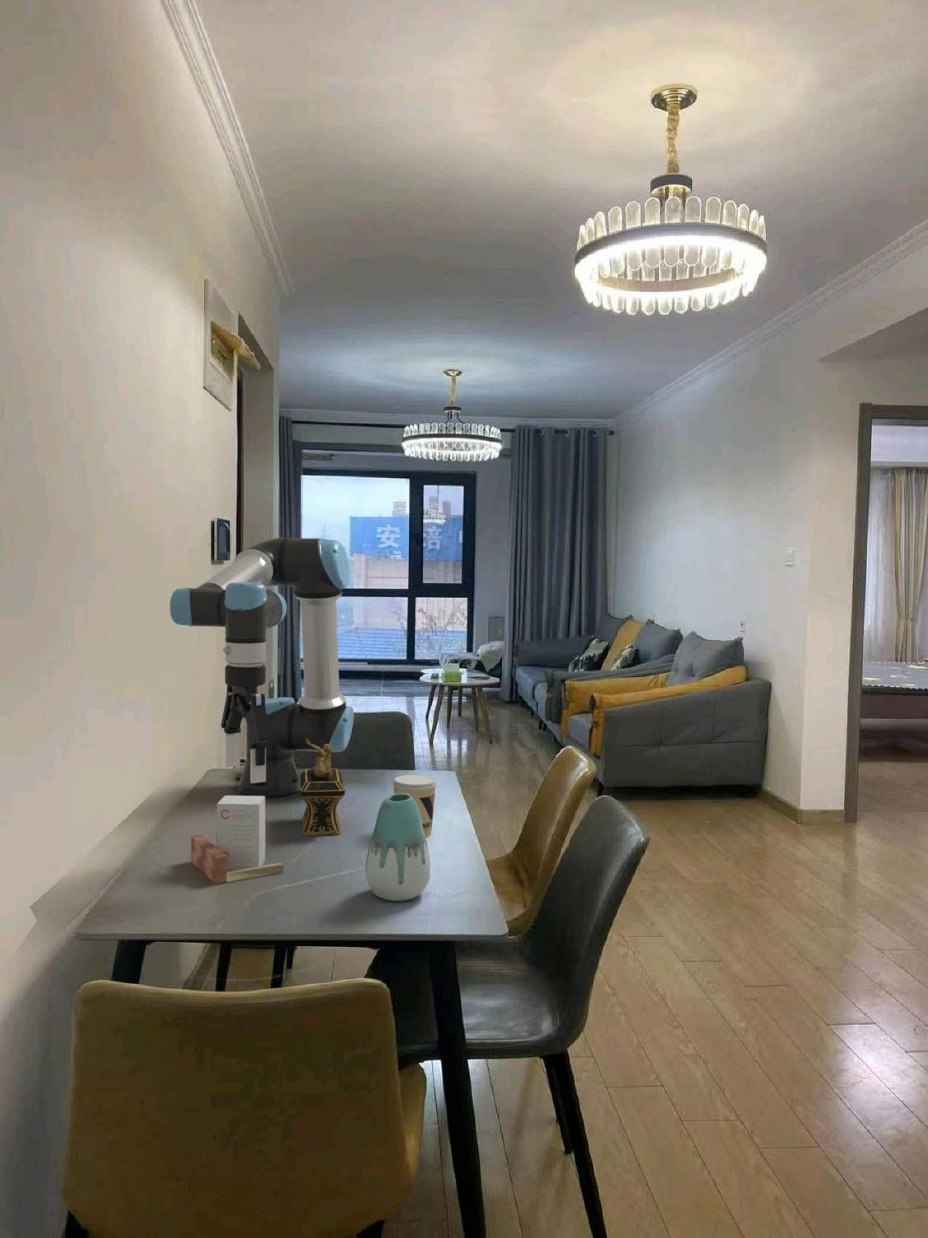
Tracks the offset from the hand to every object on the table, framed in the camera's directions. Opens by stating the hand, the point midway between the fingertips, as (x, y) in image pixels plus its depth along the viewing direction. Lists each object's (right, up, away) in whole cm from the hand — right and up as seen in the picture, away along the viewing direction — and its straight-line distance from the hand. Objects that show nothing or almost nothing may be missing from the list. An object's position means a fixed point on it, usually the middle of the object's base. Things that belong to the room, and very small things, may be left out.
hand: (245, 774), depth 178 cm
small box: (-1, -18, +1) cm, 18 cm away
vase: (+30, -20, -12) cm, 38 cm away
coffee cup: (+31, -17, +24) cm, 43 cm away
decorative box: (+10, -17, +26) cm, 33 cm away
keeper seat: (-1, -18, 0) cm, 18 cm away
